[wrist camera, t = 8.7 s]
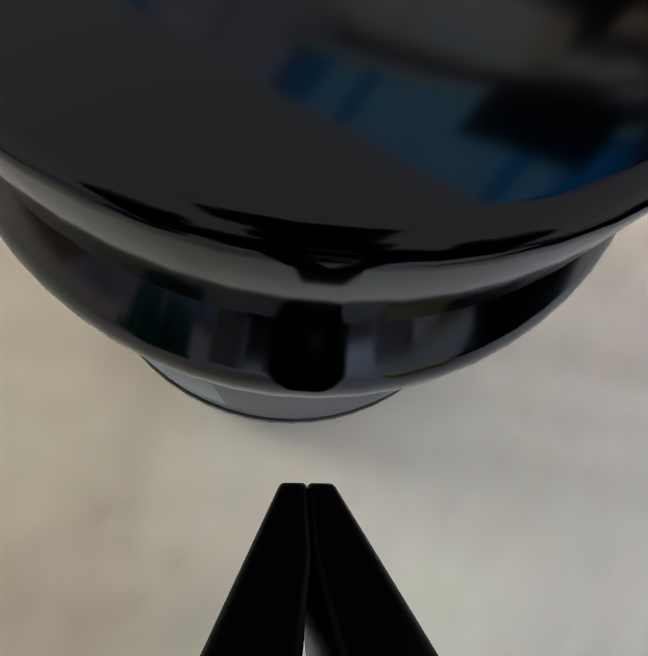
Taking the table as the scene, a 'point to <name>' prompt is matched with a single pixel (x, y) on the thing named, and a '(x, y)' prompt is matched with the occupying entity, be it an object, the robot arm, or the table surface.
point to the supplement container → (318, 180)
